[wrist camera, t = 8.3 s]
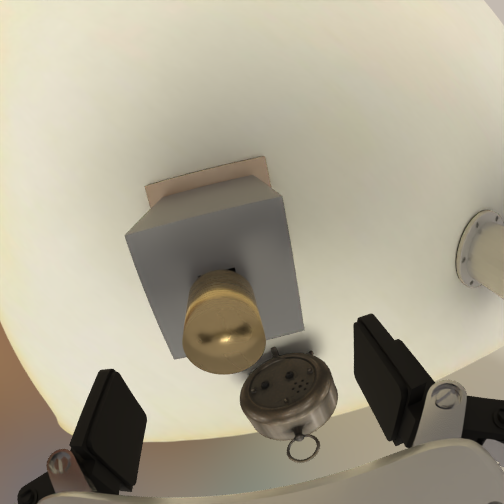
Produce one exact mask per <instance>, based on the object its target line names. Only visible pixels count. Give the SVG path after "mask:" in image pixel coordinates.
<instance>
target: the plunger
mask: <svg viewBox="0 0 504 504" xmlns="http://www.w3.org/2000/svg"><path fill="white" fill-rule="evenodd" d="M182 345H183V350H184V352H185V354H186V356H187V358H188V359H189V360H190V361H191V362H192V363H193V364H194V365H195V366H197V367H198V368H200V369H202V370H204V371H206V372H209V373H214V374H233V373H237V372H241V371H243V370H245V369H247V368H249V367H251V366H252V365H253V364H255V363H256V362H257V361H258V360H259V358H260V357H261V356H262V354H263V352H264V349H265V345H266V337H265V333H264V329H263V325H262V322H261V318H260V314H259V310H258V307H257V303H256V299H255V296H254V292H253V289H252V287H251V285H250V283H249V282H248V281H247V280H246V279H245V278H244V277H243V276H241V275H240V274H238V273H236V272H233V271H230V270H229V269H226V270H213V271H210V272H207V273H205V274H203V275H202V276H200V277H199V278H198V279H197V280H196V281H195V282H194V283H193V285H192V286H191V288H190V291H189V296H188V303H187V310H186V317H185V324H184V331H183V339H182Z"/></svg>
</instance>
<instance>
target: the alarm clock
mask: <svg viewBox="0 0 504 504" xmlns="http://www.w3.org/2000/svg"><path fill="white" fill-rule="evenodd" d="M271 351H272V354H273V359H271V360H269V361H267V362H265V363H263V364H262V365H260V366H259V367H258V368H256V369H255V370H254V371H253V372H252V373H251V374H249V376H248V378H247V379H246V381H245V383H244V384H243V387H242V389H241V393H240V405H241V408H242V410H243V412H244V414H245V415H246V416H247V418H248V419H249V421H250V422H251V423H252V425H253V426H254V428H255V429H256V430H257V431H258V432H259V433H260V434H261V435H263V436H265V437H267V438H270V439H274V440H283V441H284V440H292V441H291V442H290V443H289V445H288V447H287V455H288V457H289V459H290V460H292V461H294V462H297V463H304V462H307V461H310V460H311V459H313V458H314V457H315V456H316V454H317V453H318V451H319V449H320V442H319V441H318V439H317V438H316V437H315V436H312V435H310V434H311V433H312V432H314V431H316V430H317V429H319V428H320V427H321V426H323V425H324V424H325V423H326V422H327V421H328V419H329V418H330V417H331V415H332V414H333V412H334V410H335V408H336V405H337V401H338V393H337V389H336V386H335V384H334V381H333V378H332V375H331V372H330V369H329V368H328V366H327V365H326V364H325V362H323V361H322V360H321V359H319V358H318V357H316V356H313V352H312V351H310V352H309V354H304V353H292V354H285V355H281V356H279V354H278V351H277V349H276V348H275V347H273V348H272V349H271ZM304 437H311V438H313V439H314V440H315V441H316V443H317V448H316V450H315V452H314V454H313V455H312V456H311V457H309V458H307V459H304V460H297V459H294V458H293V457H292V456H291V455H290V452H289V450H290V446H291V444H292V443H293V442H294V441H302V440H303V439H304Z"/></svg>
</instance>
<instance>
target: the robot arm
mask: <svg viewBox="0 0 504 504" xmlns="http://www.w3.org/2000/svg"><path fill="white" fill-rule="evenodd" d="M456 268H457V274H458V277H459V279H460V280H461V282H462V283H463V284H465V285H466V286H468V287H470V288H475V287H479V286H481V285H484V286H485V287H487V288H488V289H490V290H491V291H493V292H494V293H496V294H497V295H498V296H500V297H501V298H503V299H504V223H503V220H502V218H501V217H500V216H499V214H497V213H496V212H493V211H490V210H485V211H482V212H480V213H478V214H477V215H476V216H475V217H474V218H473V219H472V220H471V221H470V223H469V224H468V226H467V227H466V229H465V231H464V233H463V235H462V238H461V241H460V244H459V247H458V252H457V260H456ZM354 375H355V378H356V381H357V383H358V384H359V386H360V388H361V390H362V392H363V394H364V396H365V398H366V400H367V402H368V403H369V405H370V407H371V409H372V411H373V413H374V415H375V416H376V419H377V420H378V423H379V424H380V427H381V428H382V430H383V432H384V434H385V436H386V438H387V440H388V441H392V440H393V442H394V444H395V446H398V445H400V444H402V443H404V444H405V446H406V447H407V448H408V449H405V450H402V451H400V452H397V453H394V454H392V455H389V456H386V457H383V458H380V459H378V460H375V461H372V462H370V463H367V464H364V465H361V466H358V467H355V468H352V469H349V470H346V471H342V472H339V473H336V474H332V475H329V476H325V477H322V478H318V479H314V480H310V481H306V482H302V483H298V484H293V485H289V486H283V487H278V488H273V489H267V490H261V491H254V492H247V493H239V494H231V495H221V496H207V497H184V498H182V497H181V498H161V497H137V496H123V495H119V490H120V491H127V492H132V488H133V485H135V484H136V480H137V473H138V467H139V461H140V456H141V450H142V444H143V439H144V433H145V428H146V423H147V417H146V414H145V412H144V411H143V409H142V408H141V406H140V405H139V403H138V402H137V400H136V399H135V397H134V396H133V394H132V393H131V391H130V390H129V388H128V386H127V385H126V383H125V382H124V380H123V378H122V377H121V375H120V374H119V373H118V372H116V371H115V370H114V369H105V370H100V371H99V372H98V375H97V377H96V379H95V382H94V384H93V386H92V389H91V391H90V393H89V396H88V398H87V401H86V403H85V406H84V408H83V411H82V413H81V416H80V418H79V421H78V423H77V426H76V429H75V431H74V434H73V437H72V439H71V442H70V446H71V450H70V451H69V450H68V449H59V450H56V451H54V452H53V453H52V454H51V455H50V456H49V458H48V460H47V464H46V467H47V472H46V473H44V474H43V475H41V476H40V477H38V478H36V479H35V480H33V481H31V482H30V483H28V484H27V485H25V486H24V487H22V488H21V490H20V491H19V493H18V504H504V472H503V470H502V469H501V467H500V466H502V467H504V400H495V399H487V398H479V397H472V396H467V393H466V391H465V388H464V387H463V386H462V385H461V384H460V383H458V382H456V381H452V380H442V381H439V382H437V383H435V382H434V381H433V379H432V378H431V377H430V376H429V374H428V373H427V372H426V371H425V369H424V368H423V367H422V365H421V364H420V363H419V362H418V360H417V359H416V358H415V357H414V355H413V354H412V353H411V352H410V351H409V349H408V348H407V347H406V346H405V344H404V343H403V342H402V341H401V340H399V339H397V340H394V339H393V338H392V337H391V335H390V334H389V333H388V332H387V330H386V329H385V328H384V327H383V325H382V324H381V323H380V322H379V321H378V319H377V318H376V317H375V316H374V315H373V314H368V315H365V316H362V317H359V318H358V320H357V322H355V323H354ZM496 461H498V462H499V464H497V462H496ZM499 465H500V466H499ZM15 504H16V503H15Z"/></svg>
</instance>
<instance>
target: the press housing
mask: <svg viewBox="0 0 504 504" xmlns="http://www.w3.org/2000/svg"><path fill="white" fill-rule="evenodd" d="M145 190H146V193H147V197H148V201H149V204H150V208H151V209H150V210H149V211H148V212H147V213H146V214H145V215H144V216H143V217H142V218H141V219H140V220H139V221H138V222H137V223H136V224H135V225H134V226H133V227H132V228H131V229H130V230H129V231H128V232H127V234H126V235H125V238H126V241H127V244H128V247H129V250H130V253H131V256H132V259H133V262H134V264H135V267H136V270H137V273H138V275H139V278H140V281H141V283H142V286H143V288H144V291H145V293H146V296H147V298H148V301H149V303H150V306H151V308H152V311H153V313H154V316H155V318H156V320H157V323H158V325H159V327H160V330H161V332H162V334H163V336H164V339H165V341H166V343H167V345H168V347H169V350H170V352H171V354H172V356H173V358H174V359H180V358H185V357H187V356H186V354H185V352H184V350H183V345H182V339H183V331H184V324H185V317H186V310H187V303H188V296H189V291H190V288H191V286H192V285H193V283H194V282H195V281H196V280H197V279H198V278H199V277H200V276H202V275H203V274H205V273H207V272H210V271H213V270H226V269H229V270H230V271H233V272H236V273H238V274H240V275H241V276H243V277H244V278H245V279H246V280H247V281H248V282H249V283H250V285H251V287H252V289H253V292H254V296H255V299H256V303H257V307H258V310H259V314H260V318H261V322H262V325H263V329H264V333H265V337H266V340H269V339H273V338H277V337H281V336H285V335H288V334H292V333H296V332H300V331H303V330H304V324H303V317H302V311H301V304H300V297H299V291H298V285H297V278H296V272H295V266H294V260H293V254H292V248H291V242H290V237H289V231H288V225H287V220H286V214H285V209H284V203H283V198H282V196H281V195H280V194H279V193H277V192H276V191H275V190H273V189H272V188H271V184H270V179H269V174H268V169H267V164H266V159H265V156H262V157H257V158H252V159H248V160H243V161H238V162H234V163H230V164H225V165H221V166H217V167H213V168H209V169H205V170H201V171H197V172H193V173H189V174H185V175H181V176H178V177H174V178H171V179H167V180H163V181H160V182H156V183H153V184H150V185H147V186H145Z"/></svg>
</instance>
